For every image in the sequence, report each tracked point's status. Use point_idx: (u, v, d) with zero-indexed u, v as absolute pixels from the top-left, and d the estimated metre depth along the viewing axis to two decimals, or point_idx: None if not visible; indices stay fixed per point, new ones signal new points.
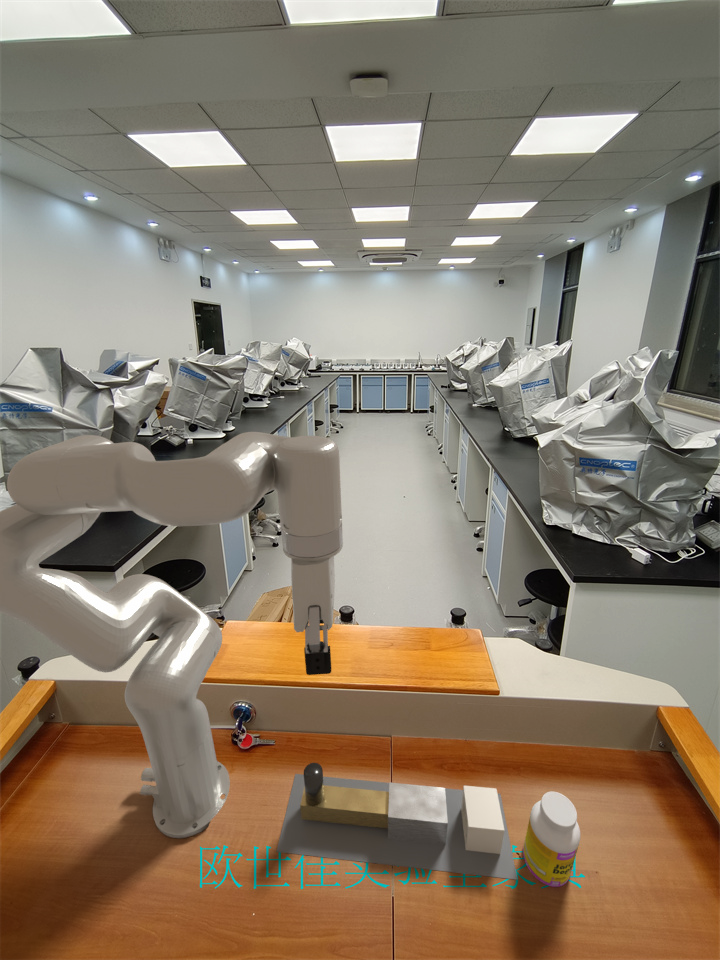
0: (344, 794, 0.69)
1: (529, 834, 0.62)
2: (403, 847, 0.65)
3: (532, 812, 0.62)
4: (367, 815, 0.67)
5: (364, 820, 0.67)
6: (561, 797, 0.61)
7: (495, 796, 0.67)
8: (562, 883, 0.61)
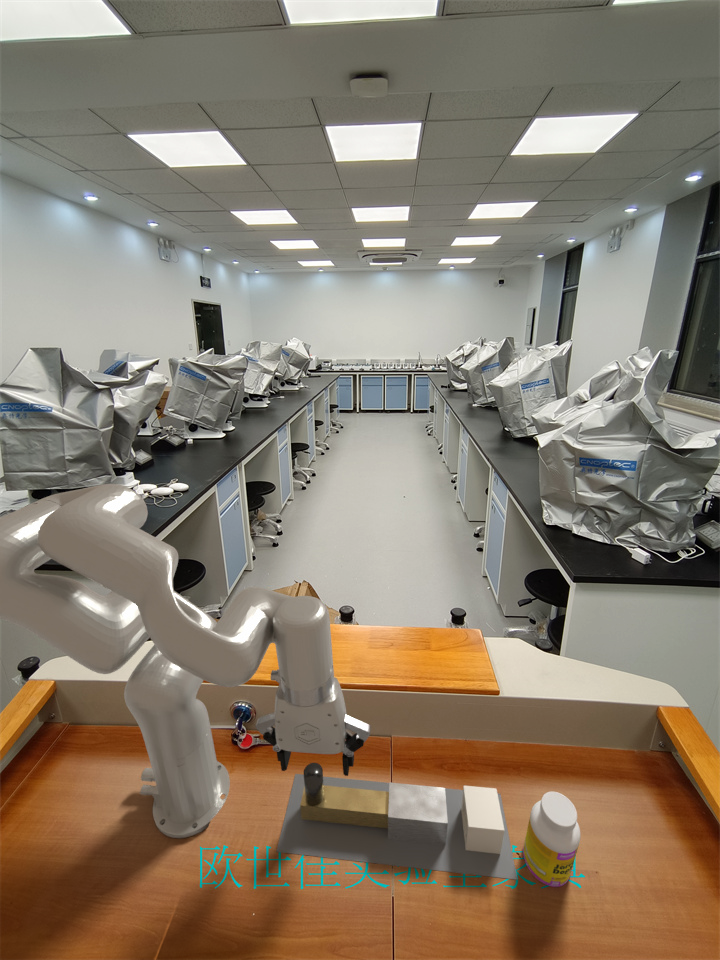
0: (344, 794, 0.69)
1: (529, 834, 0.62)
2: (403, 847, 0.65)
3: (532, 812, 0.62)
4: (367, 815, 0.67)
5: (364, 820, 0.67)
6: (561, 797, 0.61)
7: (495, 796, 0.67)
8: (562, 883, 0.61)
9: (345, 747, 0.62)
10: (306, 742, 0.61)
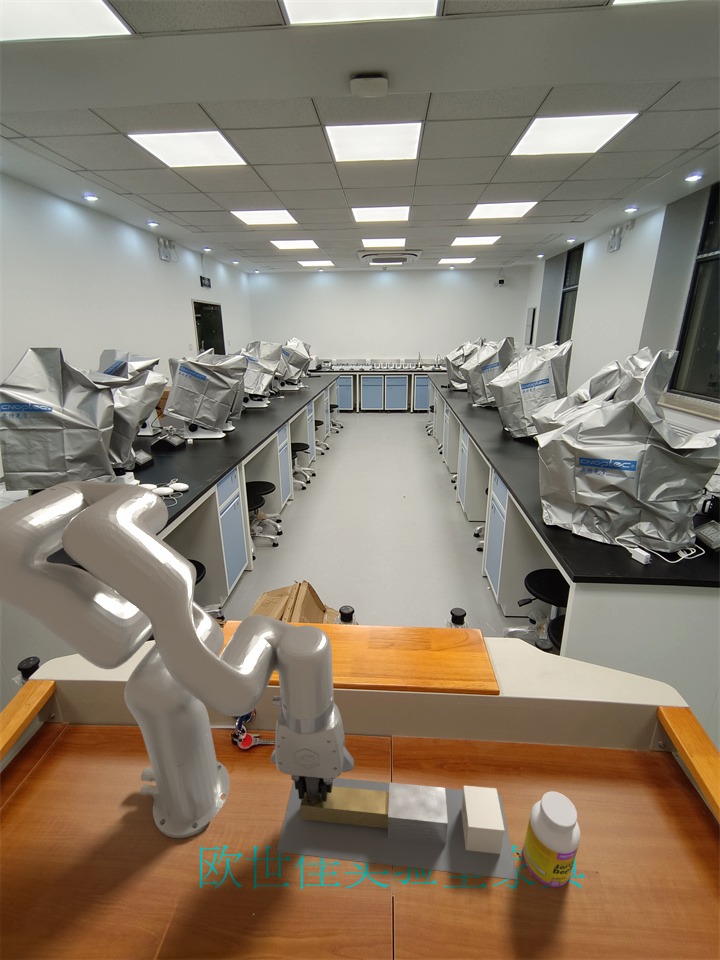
0: (344, 794, 0.69)
1: (529, 834, 0.62)
2: (403, 847, 0.65)
3: (532, 812, 0.62)
4: (367, 815, 0.67)
5: (364, 820, 0.67)
6: (561, 797, 0.61)
7: (495, 796, 0.67)
8: (562, 883, 0.61)
9: None
10: (305, 766, 0.62)
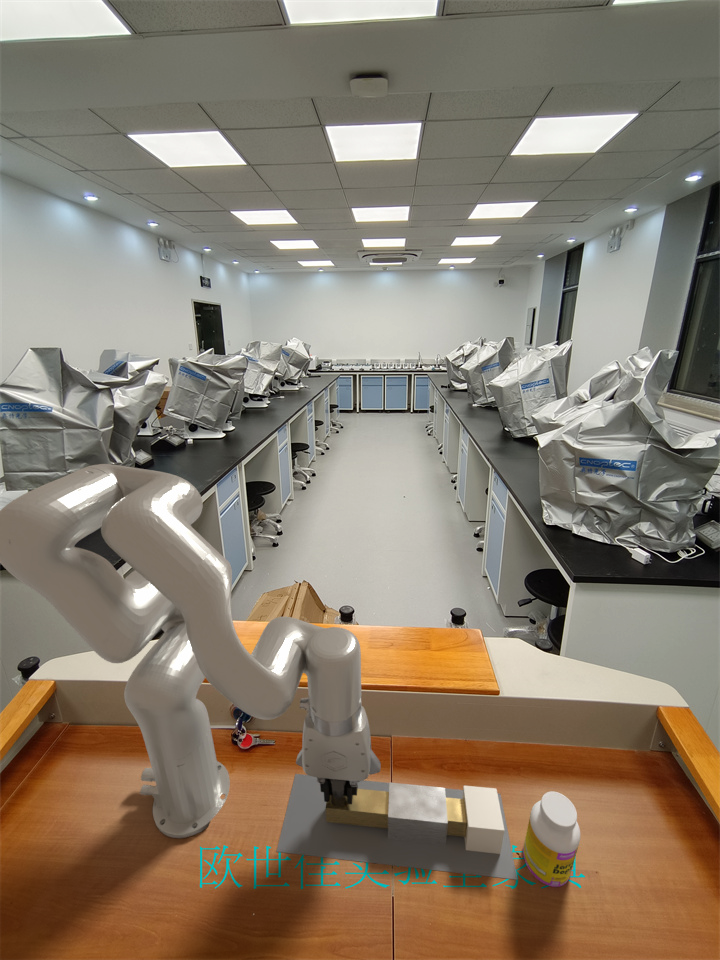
0: (369, 797, 0.68)
1: (529, 834, 0.62)
2: (403, 847, 0.65)
3: (532, 812, 0.62)
4: None
5: None
6: (561, 797, 0.61)
7: (495, 796, 0.67)
8: (562, 883, 0.61)
9: None
10: (332, 769, 0.62)
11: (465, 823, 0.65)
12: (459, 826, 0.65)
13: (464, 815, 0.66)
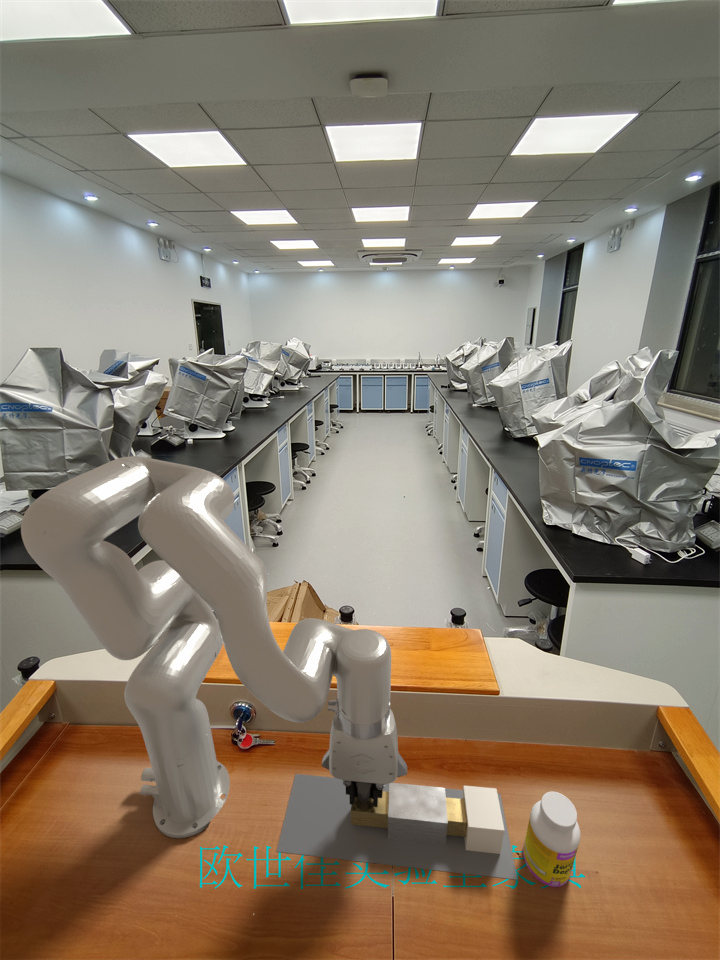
0: None
1: (529, 834, 0.62)
2: (403, 847, 0.65)
3: (532, 812, 0.62)
4: None
5: None
6: (561, 797, 0.61)
7: (495, 796, 0.67)
8: (562, 883, 0.61)
9: None
10: (360, 772, 0.62)
11: None
12: None
13: None
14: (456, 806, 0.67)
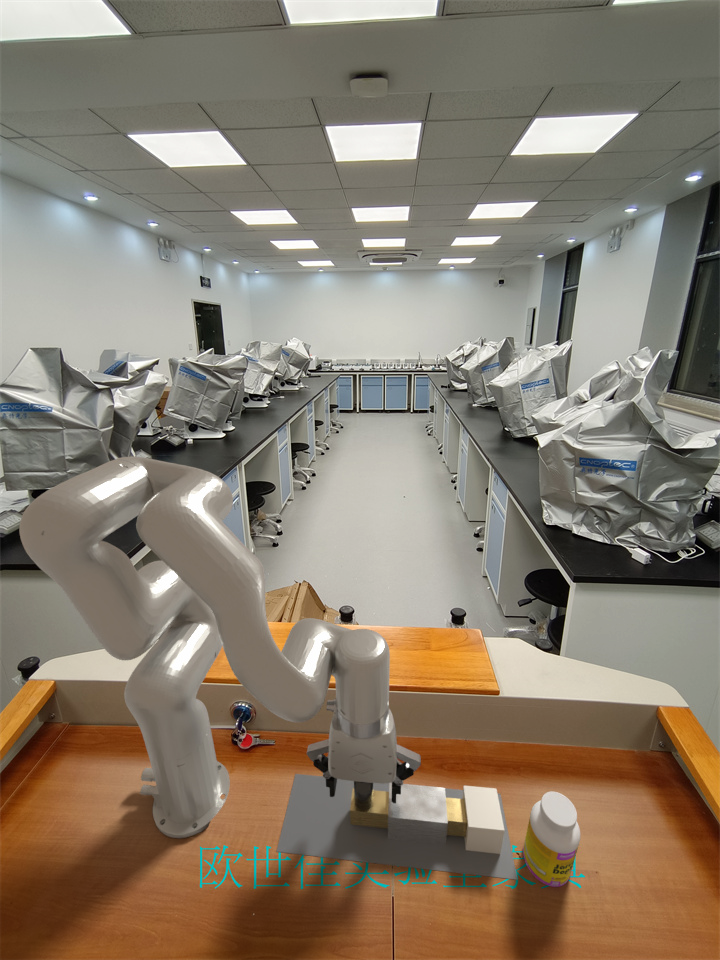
0: None
1: (529, 834, 0.62)
2: (403, 847, 0.65)
3: (532, 812, 0.62)
4: None
5: None
6: (561, 797, 0.61)
7: (495, 796, 0.67)
8: (562, 883, 0.61)
9: (395, 776, 0.63)
10: (359, 771, 0.62)
11: None
12: None
13: None
14: (455, 806, 0.67)
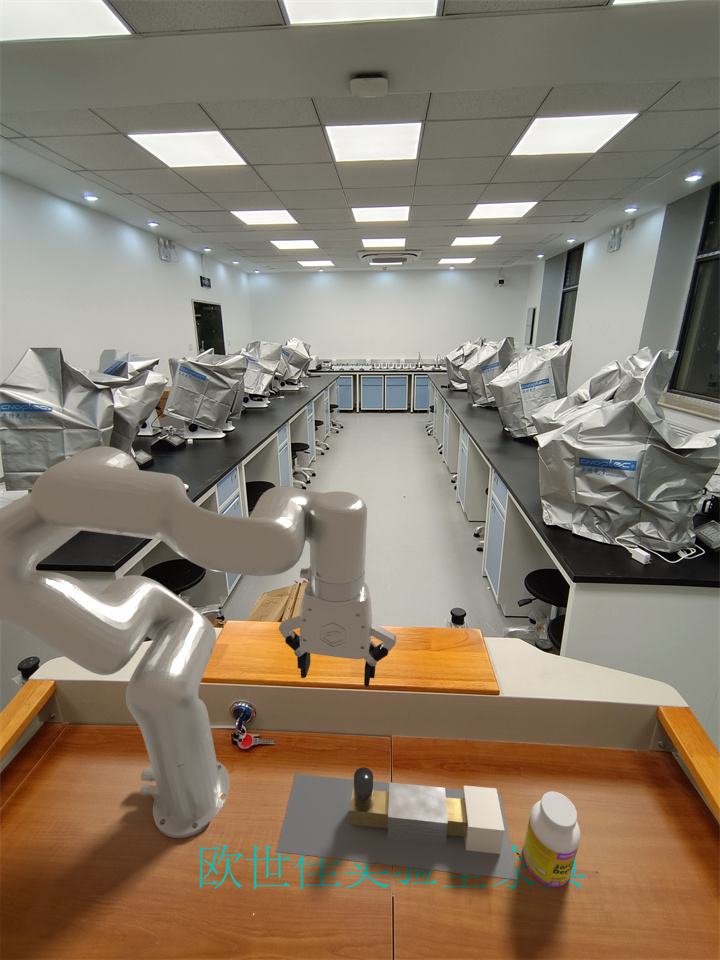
0: None
1: (529, 834, 0.62)
2: (403, 847, 0.65)
3: (532, 812, 0.62)
4: None
5: None
6: (561, 797, 0.61)
7: (495, 796, 0.67)
8: (562, 883, 0.61)
9: (369, 655, 0.61)
10: (331, 644, 0.59)
11: None
12: None
13: None
14: (455, 806, 0.67)
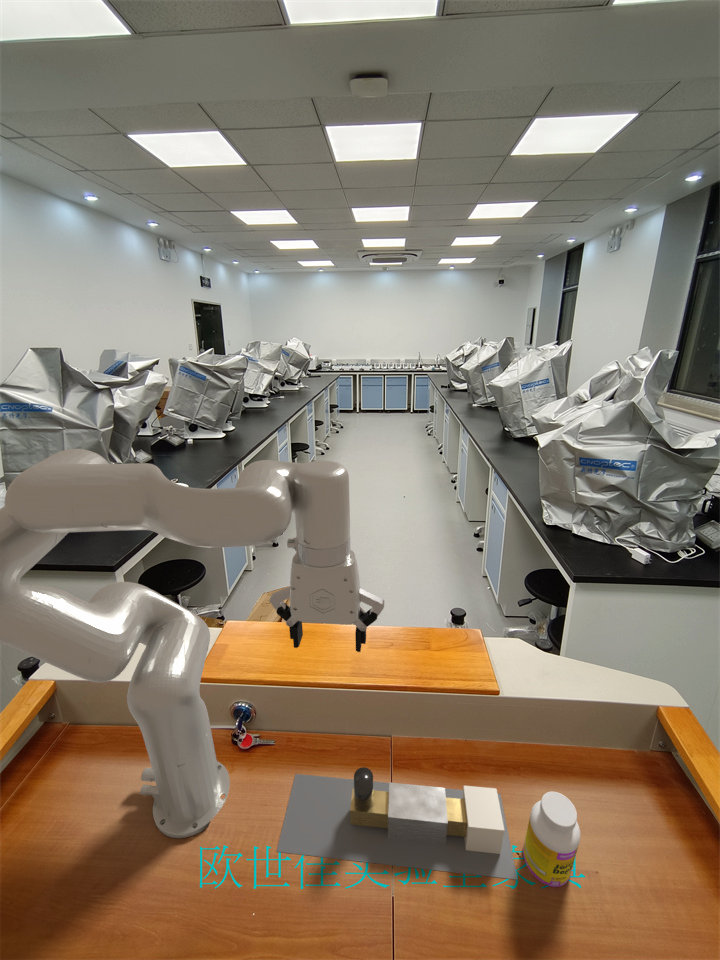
0: None
1: (529, 834, 0.62)
2: (403, 847, 0.65)
3: (532, 812, 0.62)
4: None
5: None
6: (561, 797, 0.61)
7: (495, 796, 0.67)
8: (562, 883, 0.61)
9: (359, 620, 0.62)
10: (321, 611, 0.61)
11: None
12: None
13: None
14: (455, 806, 0.67)
